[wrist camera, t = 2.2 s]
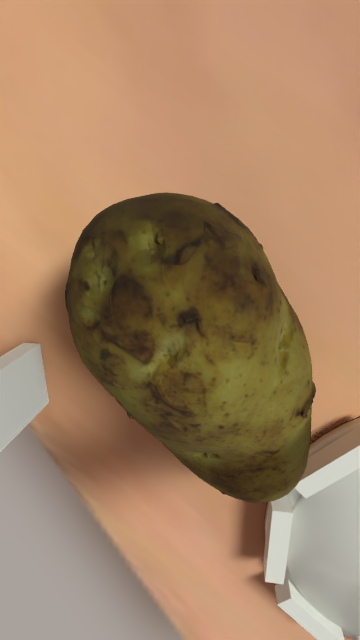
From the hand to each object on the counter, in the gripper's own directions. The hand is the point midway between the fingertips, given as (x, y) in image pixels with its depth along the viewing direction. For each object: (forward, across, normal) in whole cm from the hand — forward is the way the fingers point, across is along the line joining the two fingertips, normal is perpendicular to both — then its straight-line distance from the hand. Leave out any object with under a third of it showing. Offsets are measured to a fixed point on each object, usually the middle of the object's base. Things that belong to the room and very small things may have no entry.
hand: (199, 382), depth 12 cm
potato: (+4, 0, 0) cm, 4 cm away
